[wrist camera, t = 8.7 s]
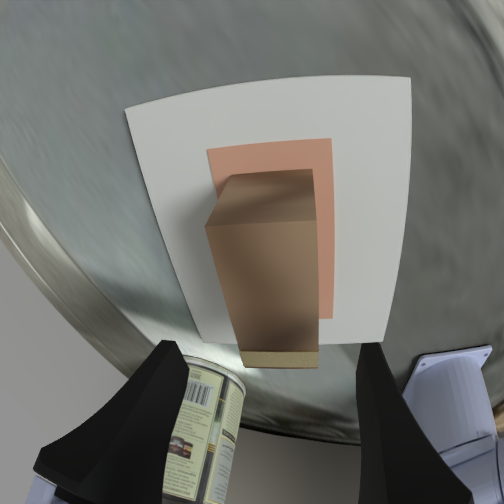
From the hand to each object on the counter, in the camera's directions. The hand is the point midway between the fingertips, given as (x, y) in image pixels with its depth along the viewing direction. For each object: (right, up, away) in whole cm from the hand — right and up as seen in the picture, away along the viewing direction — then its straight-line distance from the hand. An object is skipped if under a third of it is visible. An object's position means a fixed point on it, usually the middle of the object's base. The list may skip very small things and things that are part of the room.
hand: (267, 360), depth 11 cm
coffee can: (-6, -9, +18) cm, 21 cm away
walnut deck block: (+1, +4, +6) cm, 8 cm away
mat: (+1, +5, +7) cm, 8 cm away
